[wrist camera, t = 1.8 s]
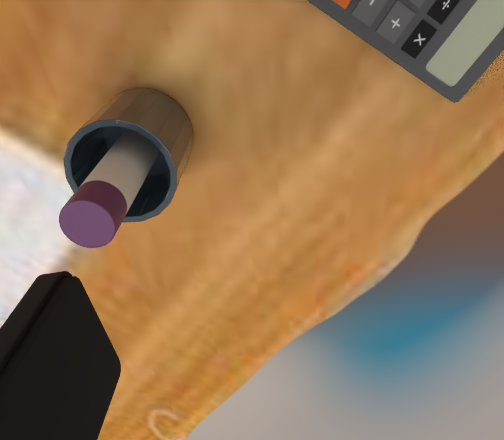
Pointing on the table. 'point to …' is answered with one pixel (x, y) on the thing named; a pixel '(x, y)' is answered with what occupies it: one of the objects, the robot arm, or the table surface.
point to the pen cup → (147, 124)
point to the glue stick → (108, 191)
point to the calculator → (428, 36)
